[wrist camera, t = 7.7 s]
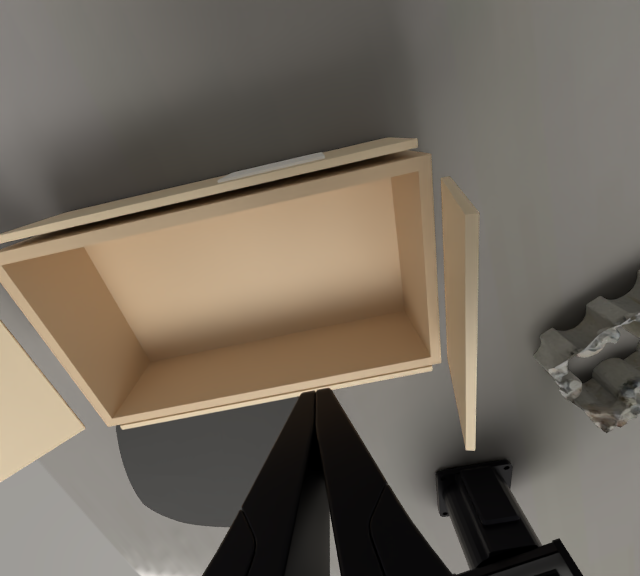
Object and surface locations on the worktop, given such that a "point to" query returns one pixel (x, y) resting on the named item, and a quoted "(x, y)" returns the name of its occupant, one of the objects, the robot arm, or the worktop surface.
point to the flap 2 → (461, 300)
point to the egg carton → (608, 376)
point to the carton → (239, 284)
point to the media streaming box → (202, 460)
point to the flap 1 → (28, 409)
